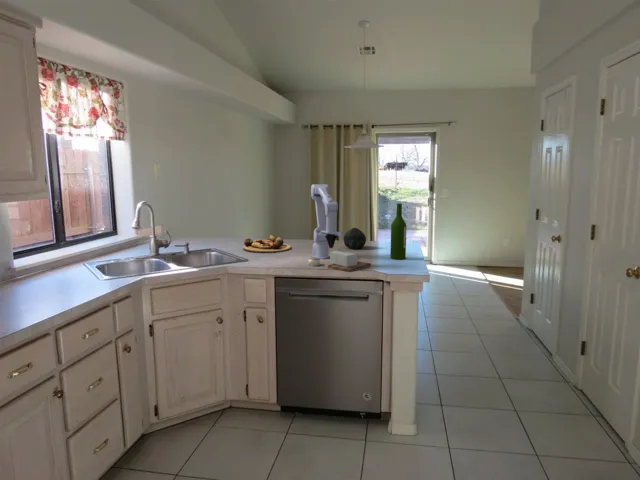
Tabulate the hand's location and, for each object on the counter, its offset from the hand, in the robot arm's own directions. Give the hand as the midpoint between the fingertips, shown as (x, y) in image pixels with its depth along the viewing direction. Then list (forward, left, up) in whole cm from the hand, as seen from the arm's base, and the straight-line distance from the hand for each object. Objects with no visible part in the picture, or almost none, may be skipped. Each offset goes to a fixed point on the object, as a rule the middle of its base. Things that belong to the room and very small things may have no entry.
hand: (331, 247), depth 254 cm
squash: (-19, +48, -9) cm, 52 cm away
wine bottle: (+21, +37, -9) cm, 44 cm away
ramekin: (-5, -9, -9) cm, 14 cm away
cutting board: (+13, 0, -9) cm, 16 cm away
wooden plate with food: (-62, +9, -10) cm, 64 cm away
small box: (+4, -1, -4) cm, 6 cm away
